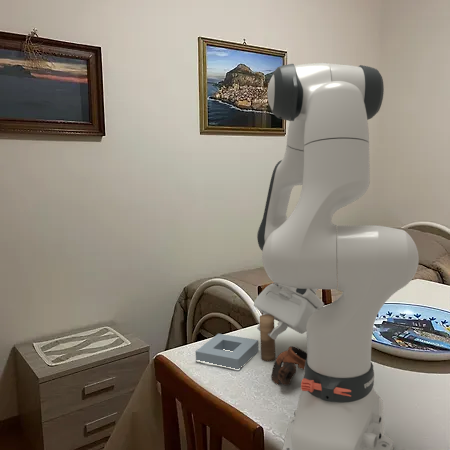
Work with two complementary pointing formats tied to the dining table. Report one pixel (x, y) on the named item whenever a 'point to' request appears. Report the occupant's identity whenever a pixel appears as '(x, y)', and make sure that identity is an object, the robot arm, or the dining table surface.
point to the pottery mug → (288, 365)
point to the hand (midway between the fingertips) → (265, 334)
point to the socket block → (235, 359)
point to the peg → (267, 338)
